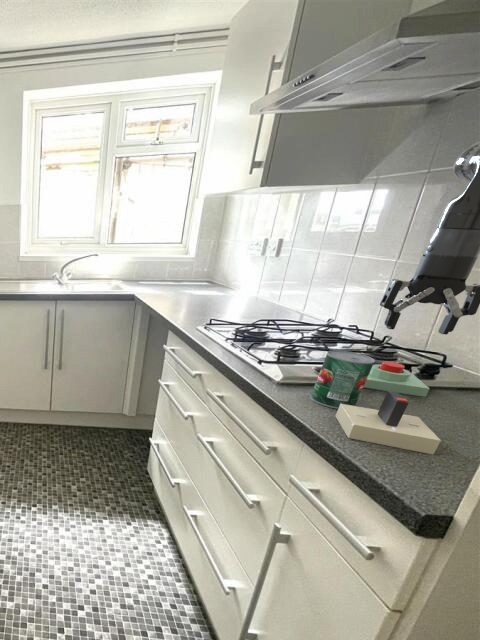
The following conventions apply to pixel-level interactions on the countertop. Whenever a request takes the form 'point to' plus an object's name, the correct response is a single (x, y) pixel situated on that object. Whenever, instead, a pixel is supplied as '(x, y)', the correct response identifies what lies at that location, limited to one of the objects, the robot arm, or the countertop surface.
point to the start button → (392, 367)
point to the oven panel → (386, 429)
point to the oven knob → (392, 408)
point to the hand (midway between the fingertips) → (415, 330)
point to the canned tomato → (341, 378)
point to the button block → (395, 382)
